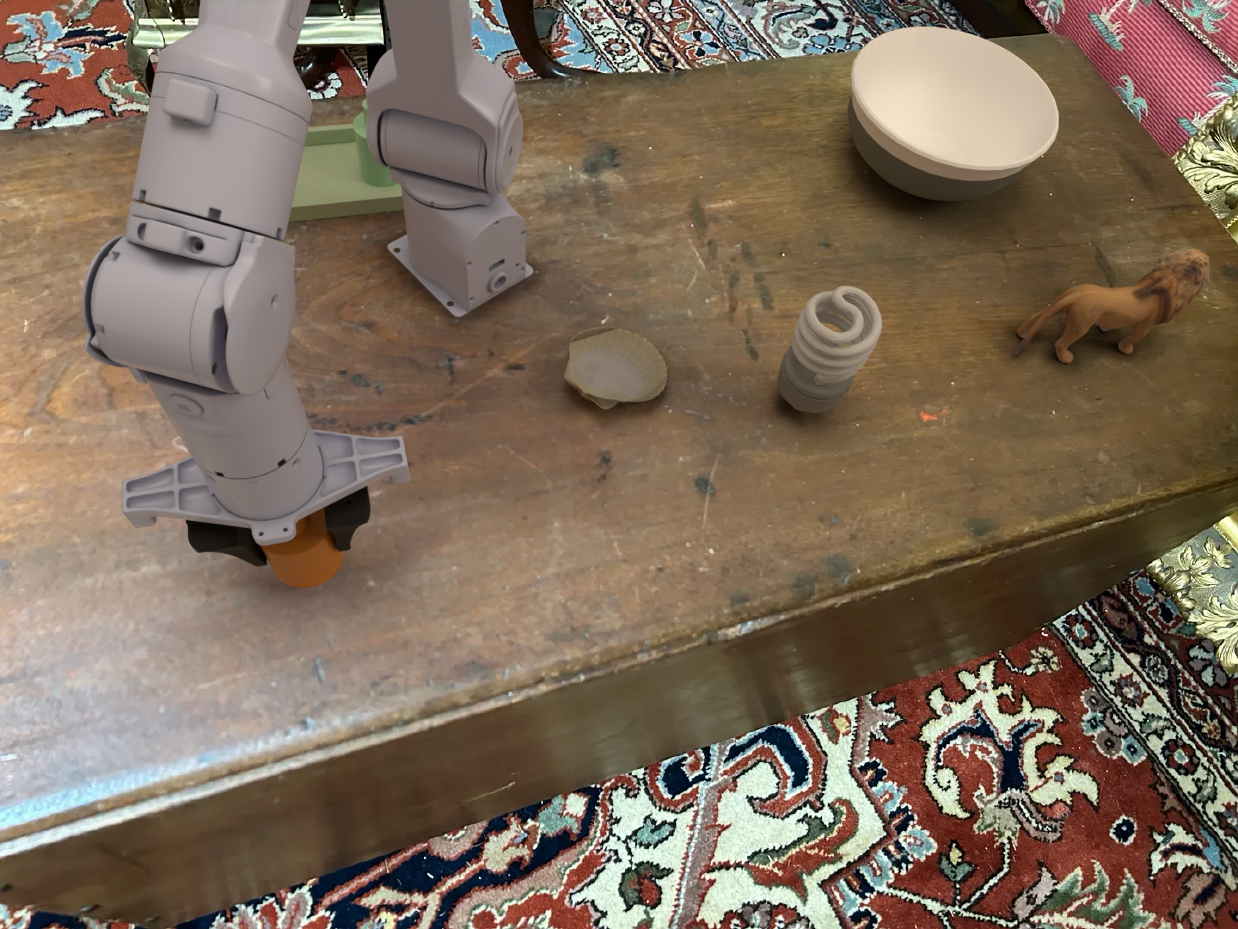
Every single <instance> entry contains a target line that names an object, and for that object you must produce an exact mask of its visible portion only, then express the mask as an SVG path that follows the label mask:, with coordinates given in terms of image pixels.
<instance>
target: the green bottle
mask: <svg viewBox="0 0 1238 929" xmlns="http://www.w3.org/2000/svg"><path fill="white" fill-rule="evenodd" d="M361 107H362V108H361V109H362V112H360V113H359V114H357V115H356V116H355V118H354V119H353V120H352V124H353V131H354V137H355V142H356V148H357V154H358V159H359V165H360V170H361V175H362V177H363V179H364V180H365V181H366V182H367V183H369V184H371V185H373V186H377V187H388V186H392V185H394V184H396V182H393V181H391V177H390V170H389V167H390V166H389V167H384V166H380V165H378V164H377V163H376V162H375V161H374V159H373V157H372V154H371V152H370V150H369V148H368V144H367V139H366V121H367V100H366V98H364V99H363V100H362V102H361Z"/></svg>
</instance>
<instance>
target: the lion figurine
mask: <svg viewBox="0 0 1238 929" xmlns="http://www.w3.org/2000/svg"><path fill="white" fill-rule="evenodd" d="M1157 261H1158V262H1157V264H1156V265H1154V266H1153V267H1152V269H1151V271H1150V272H1148V273H1146V274H1145V275H1144V276H1143V277H1142V278H1141V279H1140V280H1139V281H1138V282H1137V283H1135V284H1133V285H1128V286H1114V287H1109V288H1108V287H1103V286H1100V285H1097V284H1093V283H1081V284H1077V285H1075V286H1072V287H1070V288H1067V289H1066V290H1065V291H1063V292H1062V293H1061V294H1060V295H1059V296H1057V297H1056V298H1055V299H1054V300H1053V301H1052V302H1051V303H1049V304H1048V305H1047V306H1046V307H1044V308H1043V309H1042V310H1040V311H1039V312H1037V313H1034V314H1032V315H1029V316H1028V317H1026V319H1025V320H1024V321H1023V322H1022V323H1021V325H1020V326H1018V328H1016V334H1017V336H1018V337H1019V338H1022V341H1021V342H1019V344H1017V345H1016V346H1014V348H1013V349H1012V353H1011V354H1013V355H1014V356H1016V355H1020V354H1021V353H1022V352H1023V351H1024V350H1026V348H1027V347H1028V345H1029V343H1030V342H1031V340H1032V339H1033V337H1034V336H1035V334H1036V333H1037V332H1038V331H1039V329H1040V328H1042V326H1043V325H1044V324H1045V323H1046V322H1048V320H1049V319H1052V318H1054V317H1057V316H1060V315H1063V314H1066V316H1065V323H1064V330H1063V334H1062V336H1060V338H1059V339H1057V341H1055V343H1054V347H1055V351H1056V357H1057V359H1058V360H1059V362H1061V363H1063V364H1071V363H1072V361H1074V354H1073V353H1072V351H1071V350H1069V349H1068V348H1069V346H1070V345H1072V344H1074V343H1075V342H1076V341H1077V340H1079V339H1080V338H1081V337H1083V336H1084V335H1086V334H1087V332H1088V331H1089V330H1090V329H1091V327H1092V326H1094V325H1095V326H1098V327H1099V329H1100V330H1101V331H1103V332H1108V331H1111V330H1114V329H1115V330H1116V329H1121V328H1125V327H1126V328H1127V327H1130V326H1131V329H1130V331H1129V332H1128V334H1127V335H1125V336H1124V337H1123V338H1121V340H1120V341H1119V342H1118V345H1117V346H1118V348H1117V349H1118V350H1119V351H1120V352H1121V353H1123V354H1124V355H1130V354H1131V353H1133V351H1134V344H1135V343H1136V342H1138V341H1139V340H1141V339H1142V338H1144V337H1145V336H1146V335H1148V334H1149V332H1150V331H1151V329H1152V328H1153V326H1156V325H1157V326H1159V325H1161V324H1163V325H1164V324H1168V323H1170V322H1171V321H1172V320H1173V319H1174V317H1176V316H1178V315H1180V314H1181V313H1182V312H1183V311H1184V310H1185V309H1186V308H1187V307H1188V306H1189V305H1190V304H1191V303H1192V301H1193V299H1194V298H1195V297H1196V296H1198V295H1199V294H1200V293H1201V292H1202V291H1203V289H1204V287H1205V286H1206V285H1207V284H1208V283H1209V282H1210V272H1211V269H1210V266H1211V263H1210V256H1209V255H1207V254H1206V253H1205V252H1203V251H1200V250H1198V249H1196V248H1195V247H1190V248H1188V249H1185V250H1184V251H1181V250H1176V251H1174V250H1171V249H1170V250H1169V249H1167V250H1164V251H1163V253H1162V254H1161V255H1160V256H1159V258H1158V260H1157Z"/></svg>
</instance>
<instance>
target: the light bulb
mask: <svg viewBox="0 0 1238 929" xmlns="http://www.w3.org/2000/svg"><path fill="white" fill-rule="evenodd" d="M804 306H805V307H804V308H803V309H802V310H801V312H800V313H799V315H798V320H797V321H796V323H795V325H794V328H793V335H792V337H791V345H790V346H789V347H788V348H787V350H786V352H785V353H784V354H783V357H782V360H781V364H780V365H779V366H780V367H779V369H778V373H777V378H776V380H777V388H778V390H779V392H780V394H781V396H782V398H783V399H784V400H785V401H786V402H787V403H788V404H790V405H791V406H792V407H793V408H794V409H796V410H797V411H801V412H805V413H811V414H818V413H824V412H829V411H830V410H832V409H833V408H835V407H836V406H837V405H838V404H839V403H840V402H841V400H842V399H843V398H844V396H845V395H846V394H847V392H848V391H849V390H850V388H851V386H852V384H853V382H854V378H855V374H856V373H857V372H859V370H860V369H861V368H862V367H863V366H864V365H865V364H866V363H867V362H868V361H869V359H870V357H871V355H872V353H873V352H874V350H875V349H876V346H877V343H878V340H879V338H880V336H881V333H882V330H883V319H882V315H881V312H880V309H879V307H878V305H877V303H876V302H875V300H874V299H873V298H872V297H871V296H870V295H869V293H867V292H865V291H864V290H862V289H860V288H859V287H855V286H852V285H842V286H841V285H840V286H838V287H837V288H835V289H834V290H828V291H827V290H826V291H821V292H819V293H816V294H814V295H813V296H811V297H810V298H809V300H807V302H806V304H805V305H804ZM823 323H825V324H829V325H832V326H834V327H836V328H838V329H839V330H841V331H842V332H838V331H834V330H832V329H830V328H829V327H827V326H826V325H824V324H823ZM849 343H851V345H845V344H849Z"/></svg>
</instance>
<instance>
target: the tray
mask: <svg viewBox="0 0 1238 929" xmlns="http://www.w3.org/2000/svg"><path fill="white" fill-rule="evenodd" d="M397 211H398V212H399V211H404V207H403V199H402V192H401V185H400V184H398V183H396V184H394V185H392V186H388V187H377V186H373V185H371V184H369V183H367V182H366V181H365V180H364V179H363V177H362V175H361V170H360V165H359V159H358V154H357V148H356V142H355V137H354V131H353V123H344V124H330V125H318V126H309V127H308V132H307V137H306V142H305V146H304V151H303V155H302V160H301V165H300V170H299V174H298V179H297V184H296V189H295V193H294V198H293V203H292V207H291V212H290V217H289V222H288V223H292V222H302V221H311V220H320V219H329V218H340V217H350V216H359V215H368V214H379V213H387V212H397Z"/></svg>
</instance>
